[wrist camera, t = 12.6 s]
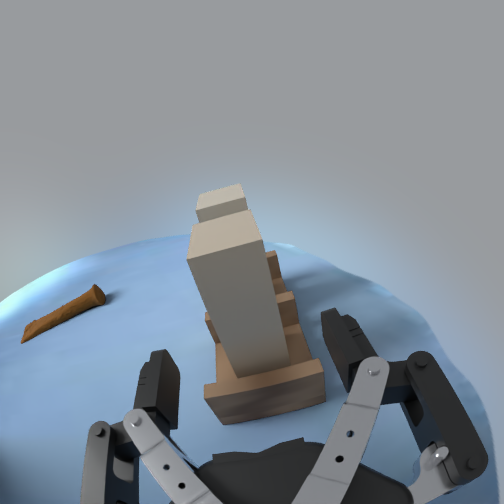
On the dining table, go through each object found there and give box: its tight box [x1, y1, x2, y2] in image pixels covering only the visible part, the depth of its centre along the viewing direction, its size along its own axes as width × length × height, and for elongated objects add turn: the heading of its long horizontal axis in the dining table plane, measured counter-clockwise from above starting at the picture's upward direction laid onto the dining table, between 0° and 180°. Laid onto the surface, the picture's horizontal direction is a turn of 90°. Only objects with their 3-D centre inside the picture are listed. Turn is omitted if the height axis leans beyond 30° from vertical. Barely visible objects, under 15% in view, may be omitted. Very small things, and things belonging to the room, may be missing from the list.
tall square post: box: [196, 184, 248, 223], centre depth 26 cm, size 4×5×12 cm
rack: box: [204, 250, 326, 425], centre depth 25 cm, size 8×18×4 cm, turn 7°
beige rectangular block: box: [187, 210, 291, 379], centre depth 19 cm, size 4×5×12 cm
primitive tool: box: [21, 284, 106, 344], centre depth 37 cm, size 19×6×4 cm, turn 117°
